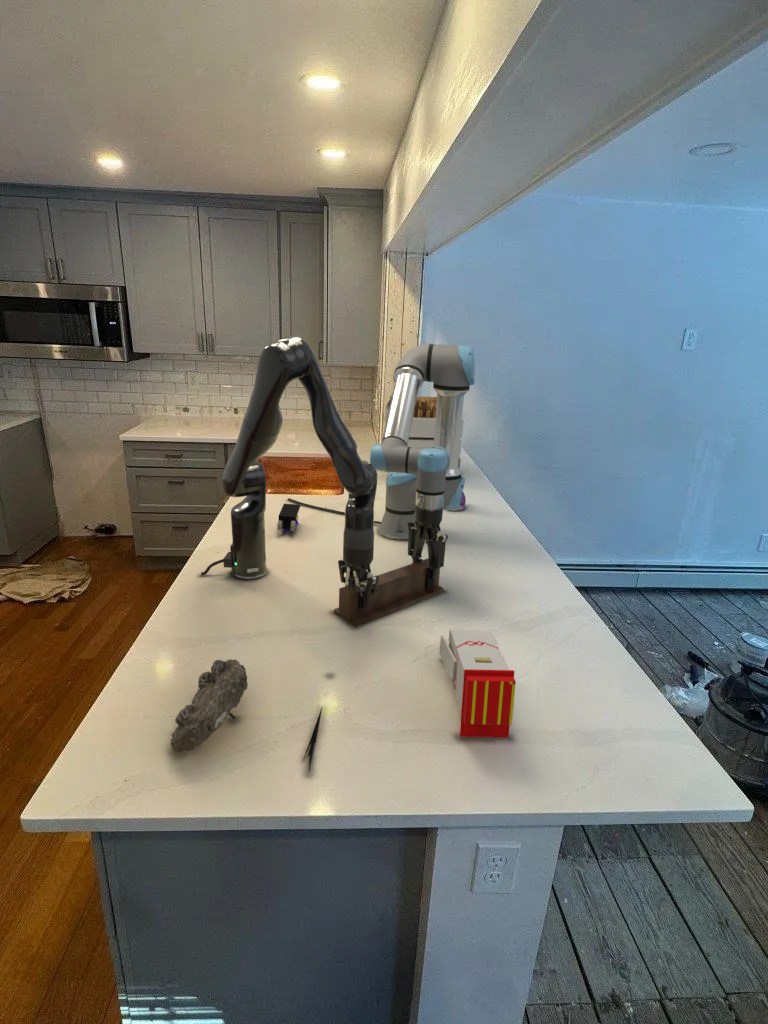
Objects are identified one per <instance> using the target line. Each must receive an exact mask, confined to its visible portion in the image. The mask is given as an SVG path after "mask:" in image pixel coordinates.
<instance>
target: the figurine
mask: <svg viewBox="0 0 768 1024" xmlns="http://www.w3.org/2000/svg"><path fill="white" fill-rule="evenodd" d="M466 503H467V502H466V496H465V492H464V491H463V492H462V496H461V501H460V505H459V507H458V509H456V510H450V511H451V512H452V511H453V512H457V511H462V510H463V509H465V505H466Z"/></svg>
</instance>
